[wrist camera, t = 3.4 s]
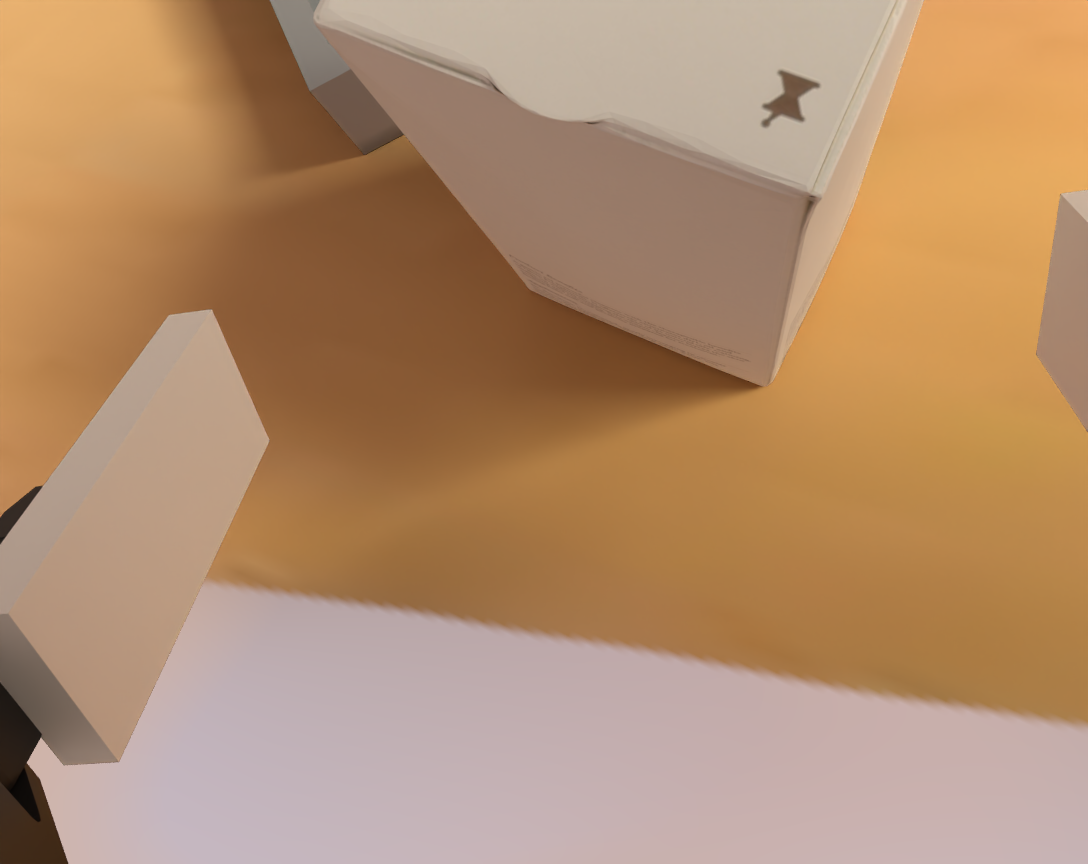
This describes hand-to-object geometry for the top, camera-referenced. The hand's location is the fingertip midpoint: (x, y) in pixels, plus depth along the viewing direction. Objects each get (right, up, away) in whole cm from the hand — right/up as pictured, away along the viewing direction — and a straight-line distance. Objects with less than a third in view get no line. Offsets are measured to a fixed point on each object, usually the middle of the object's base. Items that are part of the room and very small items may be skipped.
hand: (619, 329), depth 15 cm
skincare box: (+3, +4, +13) cm, 14 cm away
